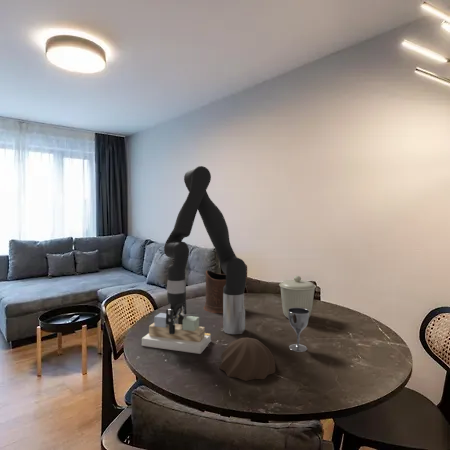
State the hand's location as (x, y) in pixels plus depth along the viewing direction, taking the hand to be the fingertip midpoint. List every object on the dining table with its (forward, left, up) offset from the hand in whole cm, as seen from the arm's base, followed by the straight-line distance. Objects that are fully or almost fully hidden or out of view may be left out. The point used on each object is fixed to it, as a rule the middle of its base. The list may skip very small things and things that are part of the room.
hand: (176, 329), depth 132 cm
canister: (-44, -47, -6) cm, 65 cm away
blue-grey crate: (+6, 0, +1) cm, 6 cm away
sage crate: (-6, 0, +1) cm, 6 cm away
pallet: (0, 0, -3) cm, 3 cm away
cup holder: (-6, -51, -6) cm, 52 cm away
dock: (0, 0, -6) cm, 6 cm away
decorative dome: (-32, +10, -6) cm, 34 cm away
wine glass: (-48, -10, -6) cm, 49 cm away
